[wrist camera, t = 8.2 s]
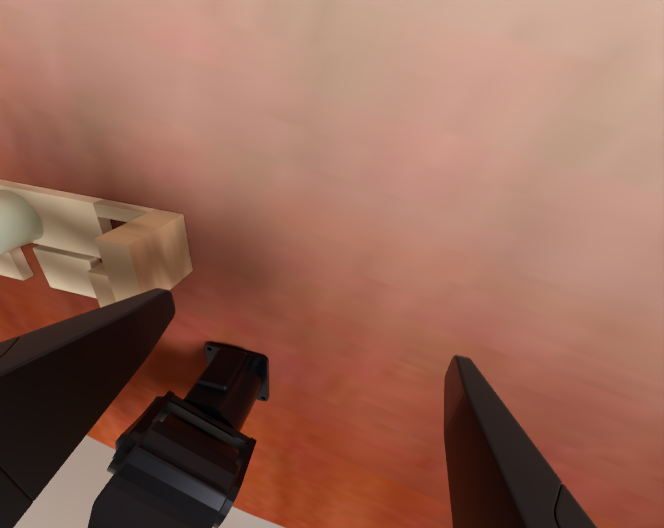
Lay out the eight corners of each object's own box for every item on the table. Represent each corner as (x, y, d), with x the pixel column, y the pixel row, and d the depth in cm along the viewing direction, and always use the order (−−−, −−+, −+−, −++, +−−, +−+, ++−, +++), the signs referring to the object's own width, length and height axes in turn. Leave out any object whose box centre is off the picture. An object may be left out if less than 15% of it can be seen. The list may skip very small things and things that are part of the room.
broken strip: (173, 308, 30) (155, 325, 28) (-20, 262, 33) (-48, 274, 31) (164, 270, 27) (144, 284, 25) (-42, 224, 30) (-75, 234, 28)
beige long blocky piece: (192, 270, 27) (146, 310, 22) (13, 231, 29) (-62, 259, 25) (183, 214, 24) (127, 245, 19) (-13, 177, 26) (-104, 196, 22)
